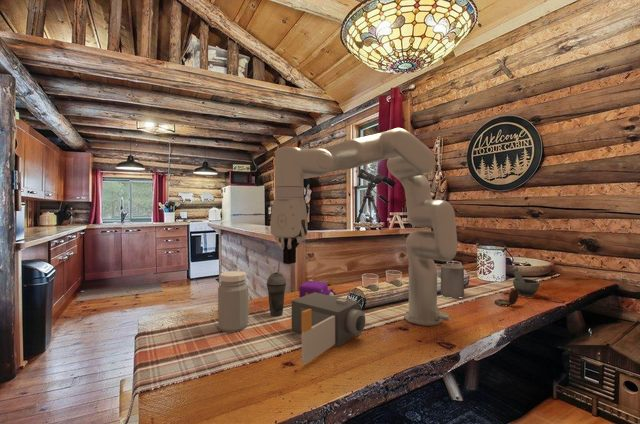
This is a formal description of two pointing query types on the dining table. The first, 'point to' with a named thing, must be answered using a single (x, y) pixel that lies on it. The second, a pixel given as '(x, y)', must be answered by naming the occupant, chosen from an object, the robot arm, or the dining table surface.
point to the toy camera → (314, 288)
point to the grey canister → (452, 280)
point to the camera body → (325, 306)
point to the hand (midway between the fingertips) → (289, 263)
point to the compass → (512, 299)
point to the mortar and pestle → (524, 284)
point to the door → (316, 336)
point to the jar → (232, 301)
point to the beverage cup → (276, 293)
